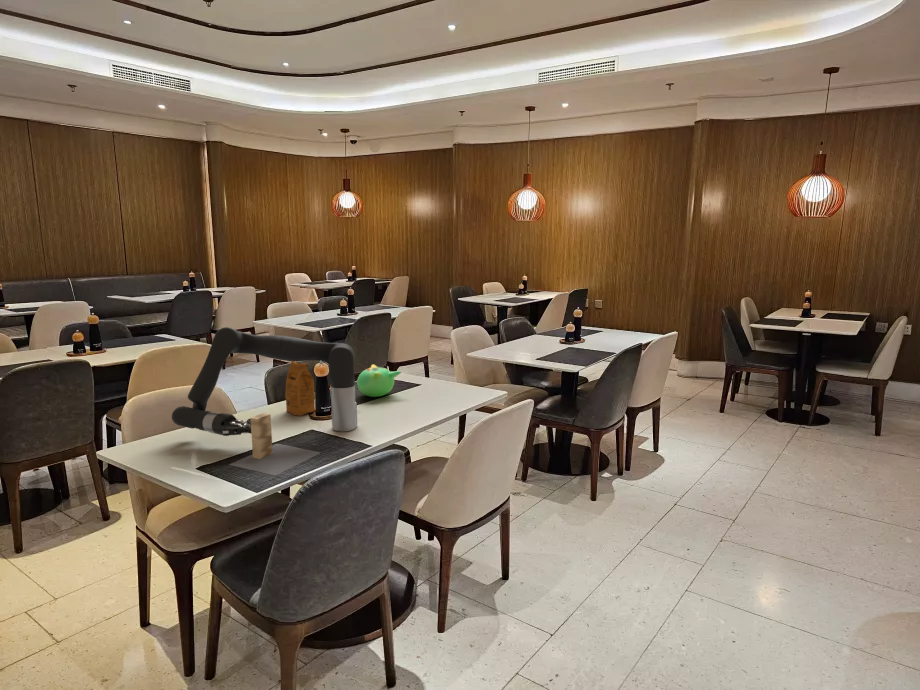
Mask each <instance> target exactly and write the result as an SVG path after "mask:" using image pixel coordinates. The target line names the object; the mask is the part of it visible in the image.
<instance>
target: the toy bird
mask: <svg viewBox="0 0 920 690" xmlns="http://www.w3.org/2000/svg"><path fill="white" fill-rule="evenodd" d="M401 373H402V371H401V370H396V371H390V370H389V369H388V368H385V367H382V366H377V365H376V364H371V366H370V367H369V368H366V369H364V370H363V371H362V372H361V373H360V374H359V375H358V377H357V380H356V381H357V382H356V384H357V388H358V390H359V392H360V393H362V395H365V396H367V397H371V398H377V397H382V396H385V395H387V394H389V393H390V392H391V391H392V390H393V388H394V385H395V379H396V377H397V376H399V375H400V374H401Z"/></svg>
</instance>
